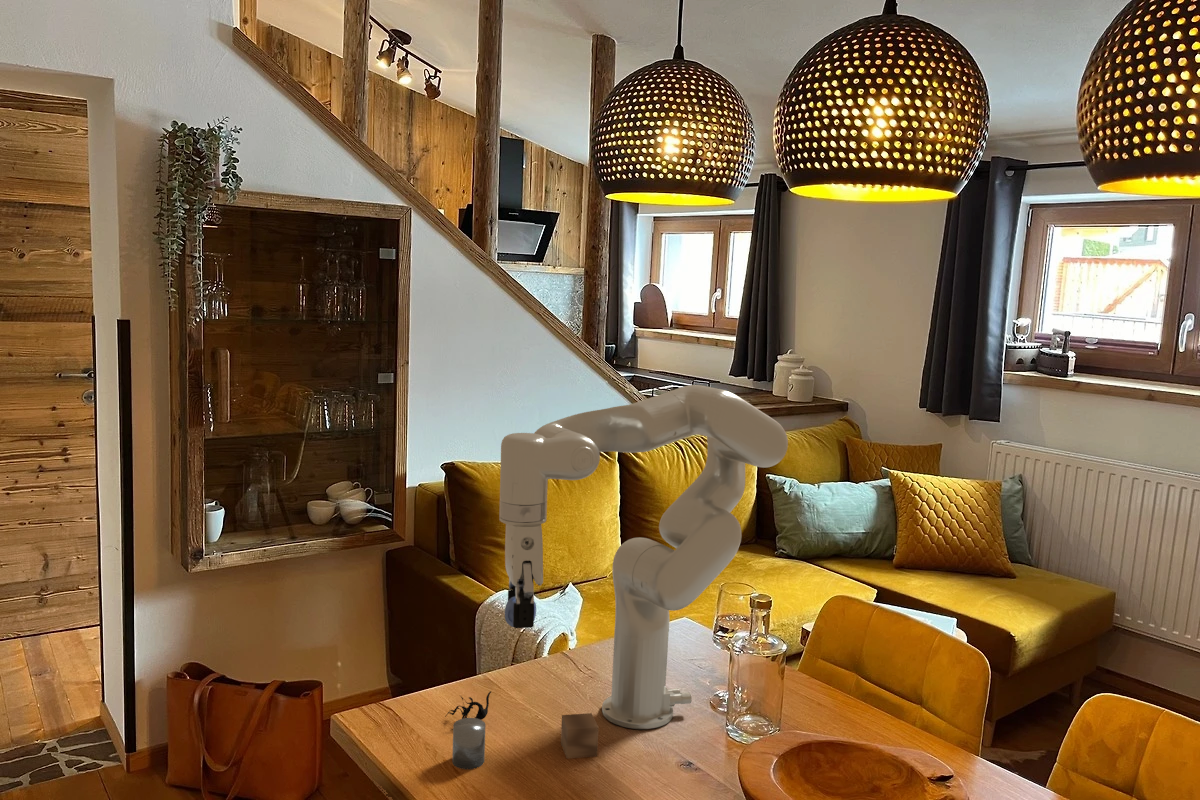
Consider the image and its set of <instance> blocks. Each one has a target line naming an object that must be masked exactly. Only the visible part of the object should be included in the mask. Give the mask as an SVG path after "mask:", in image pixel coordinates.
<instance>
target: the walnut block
mask: <svg viewBox="0 0 1200 800" xmlns="http://www.w3.org/2000/svg"><path fill="white" fill-rule="evenodd" d="M560 728H561V729H560V730H561V731H560V732H561V733H560V745H561V747H563V748H562V750H563V752H564V755H565V758H566V759H567V760H568V759H579V758H590V757H591V758H593V757H598V746H599V745H598V743H599V742H598V741H599V726H598V723H597V721H596V719H595V717H594V714H593V713H589V712H588V713H573V714H572V713H571V714H561V727H560Z"/></svg>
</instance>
